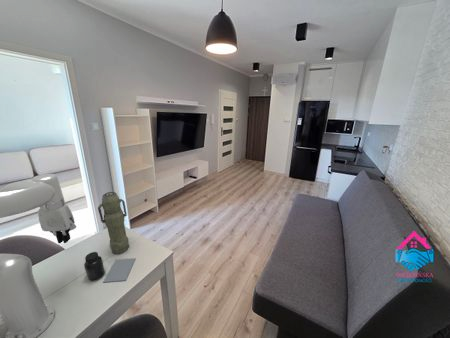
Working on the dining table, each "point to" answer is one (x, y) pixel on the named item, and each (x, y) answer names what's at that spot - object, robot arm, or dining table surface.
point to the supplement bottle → (94, 266)
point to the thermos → (114, 222)
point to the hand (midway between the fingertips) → (64, 240)
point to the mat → (119, 270)
